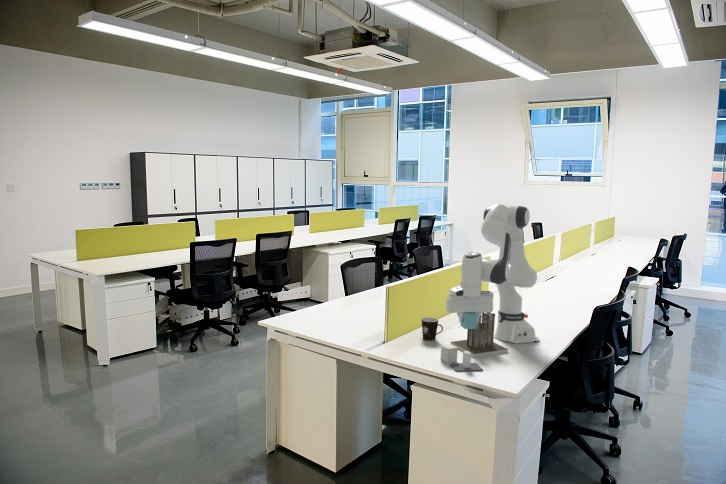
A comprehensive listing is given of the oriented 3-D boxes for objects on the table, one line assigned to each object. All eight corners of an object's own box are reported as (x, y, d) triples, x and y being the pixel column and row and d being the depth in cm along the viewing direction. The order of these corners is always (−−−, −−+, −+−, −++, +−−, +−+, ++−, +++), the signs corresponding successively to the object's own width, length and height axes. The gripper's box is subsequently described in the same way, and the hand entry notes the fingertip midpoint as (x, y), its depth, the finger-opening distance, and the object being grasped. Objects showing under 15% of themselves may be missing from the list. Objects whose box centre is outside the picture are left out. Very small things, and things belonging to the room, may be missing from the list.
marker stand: (476, 364, 219) (476, 348, 218) (482, 370, 211) (483, 355, 210) (450, 364, 217) (450, 349, 216) (455, 371, 209) (456, 355, 208)
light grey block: (449, 357, 226) (450, 343, 225) (456, 361, 221) (457, 347, 220) (440, 359, 223) (441, 345, 222) (447, 363, 219) (448, 349, 218)
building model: (483, 341, 252) (485, 307, 250) (509, 353, 234) (512, 317, 232) (450, 345, 244) (452, 310, 242) (475, 358, 226) (477, 321, 224)
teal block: (472, 325, 215) (472, 310, 214) (476, 328, 210) (477, 313, 209) (460, 325, 214) (461, 310, 213) (464, 328, 209) (465, 313, 208)
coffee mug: (417, 336, 256) (418, 317, 254) (432, 335, 259) (433, 316, 257) (428, 343, 245) (429, 324, 244) (443, 342, 248) (444, 322, 247)
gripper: (490, 289, 215) (488, 320, 216) (445, 289, 212) (443, 320, 213) (496, 292, 208) (494, 324, 210) (450, 292, 205) (448, 324, 207)
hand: (468, 322), depth 212 cm, fingers closed on teal block, 5 cm apart
